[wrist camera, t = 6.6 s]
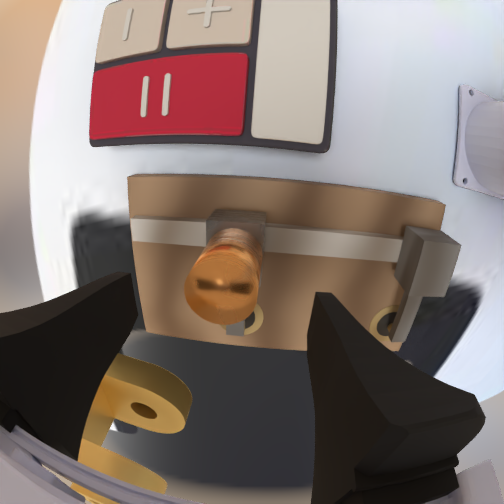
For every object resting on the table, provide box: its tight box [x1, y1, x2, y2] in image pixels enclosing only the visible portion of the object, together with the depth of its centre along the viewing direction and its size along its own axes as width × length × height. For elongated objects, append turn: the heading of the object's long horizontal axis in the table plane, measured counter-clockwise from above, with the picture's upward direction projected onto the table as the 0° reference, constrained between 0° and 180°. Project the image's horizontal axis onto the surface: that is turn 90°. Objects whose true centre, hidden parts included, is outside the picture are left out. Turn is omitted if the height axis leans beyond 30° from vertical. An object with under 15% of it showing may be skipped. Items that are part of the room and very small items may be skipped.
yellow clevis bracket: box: [62, 353, 192, 504], centre depth 20 cm, size 20×9×16 cm, turn 81°
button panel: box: [89, 0, 337, 153], centre depth 13 cm, size 11×4×15 cm
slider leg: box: [184, 209, 267, 337], centre depth 15 cm, size 3×9×7 cm, turn 177°
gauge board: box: [127, 174, 461, 351], centre depth 18 cm, size 22×13×5 cm, turn 87°
